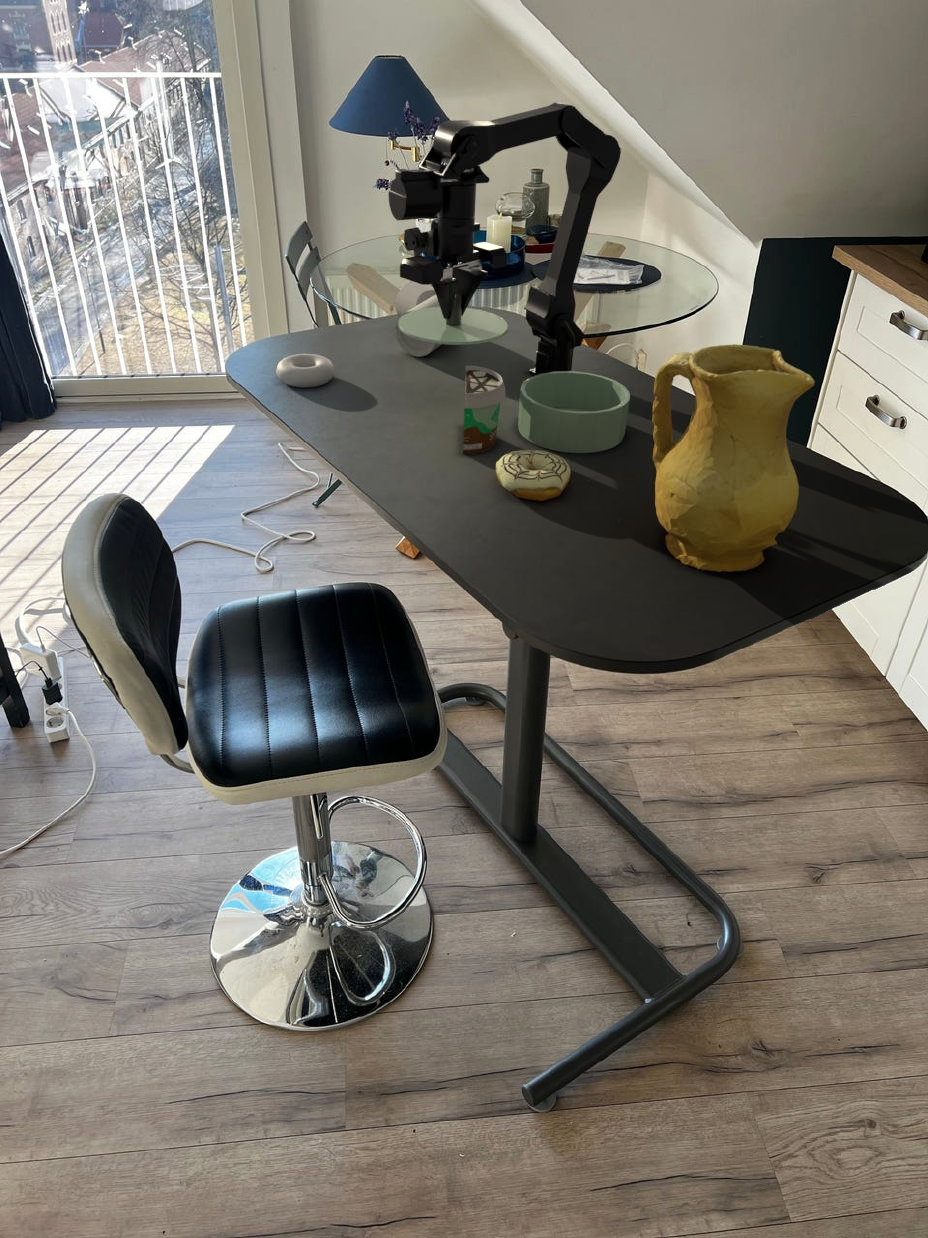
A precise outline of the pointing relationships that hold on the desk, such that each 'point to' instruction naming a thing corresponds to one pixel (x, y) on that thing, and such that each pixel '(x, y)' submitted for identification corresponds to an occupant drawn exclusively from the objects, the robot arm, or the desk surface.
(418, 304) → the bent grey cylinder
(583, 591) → the desk surface
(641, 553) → the desk surface
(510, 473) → the decorated donut
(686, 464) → the pitcher
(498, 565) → the desk surface
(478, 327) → the lid
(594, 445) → the pot
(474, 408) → the food container
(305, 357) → the donut
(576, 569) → the desk surface
